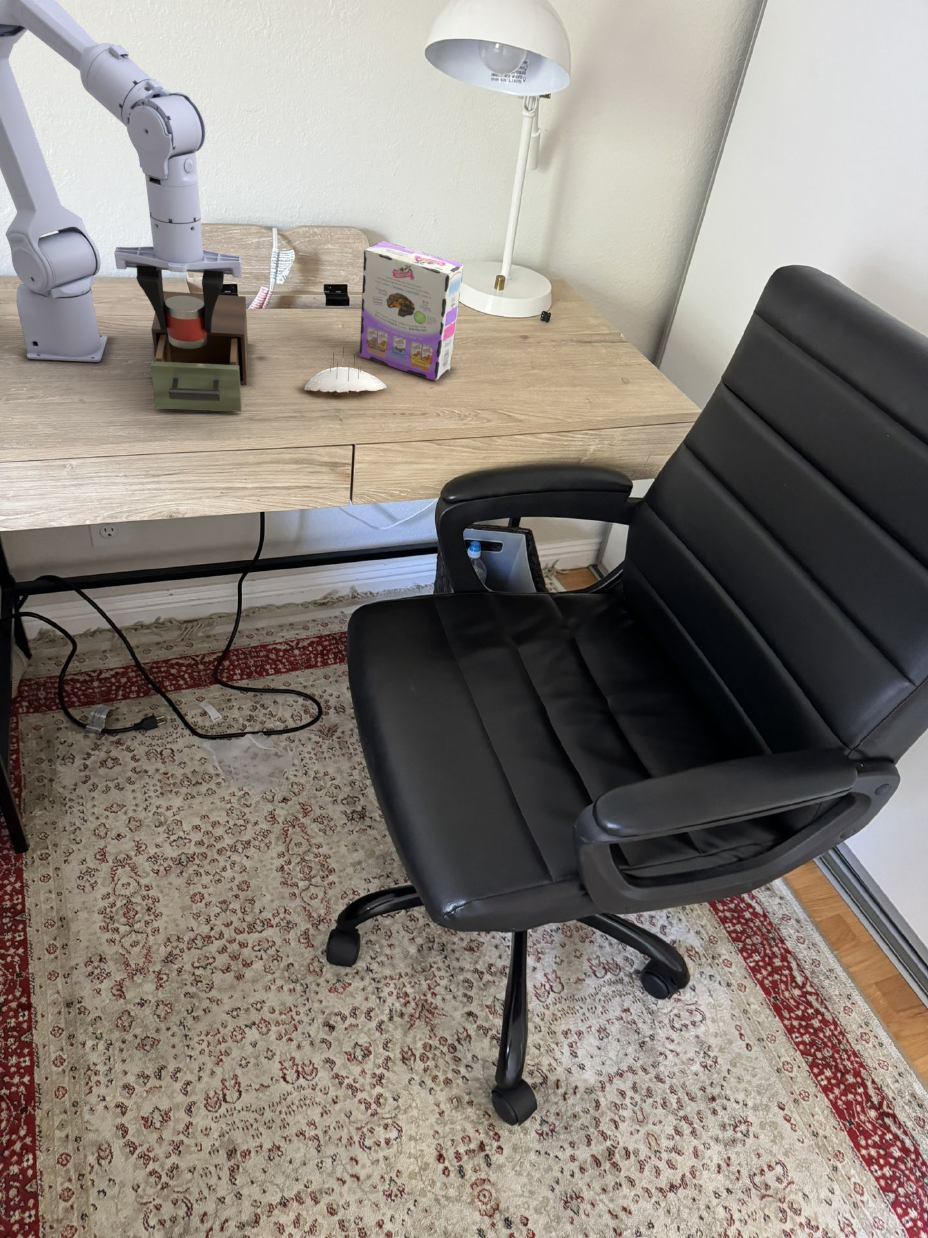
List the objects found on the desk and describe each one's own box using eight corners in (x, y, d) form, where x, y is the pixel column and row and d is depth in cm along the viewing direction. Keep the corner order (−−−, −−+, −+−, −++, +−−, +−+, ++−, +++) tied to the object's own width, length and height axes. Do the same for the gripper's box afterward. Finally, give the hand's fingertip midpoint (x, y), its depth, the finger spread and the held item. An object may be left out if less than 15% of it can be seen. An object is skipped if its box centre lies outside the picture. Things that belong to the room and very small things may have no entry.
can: (166, 347, 103) (162, 309, 100) (170, 331, 107) (166, 293, 103) (206, 350, 104) (203, 312, 101) (208, 333, 108) (205, 296, 104)
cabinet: (246, 384, 115) (244, 333, 110) (157, 381, 112) (151, 328, 107) (247, 344, 124) (245, 296, 119) (165, 340, 121) (159, 290, 116)
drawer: (240, 427, 104) (238, 385, 100) (152, 425, 102) (146, 381, 98) (242, 369, 116) (240, 329, 112) (163, 365, 114) (158, 324, 110)
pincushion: (381, 380, 121) (384, 344, 117) (390, 400, 117) (393, 363, 113) (301, 381, 118) (301, 344, 114) (307, 401, 113) (308, 363, 110)
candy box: (451, 369, 127) (466, 263, 116) (435, 383, 123) (449, 273, 112) (375, 343, 130) (382, 237, 119) (357, 356, 126) (362, 247, 115)
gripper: (104, 221, 90) (122, 338, 99) (238, 232, 93) (243, 344, 102) (112, 201, 95) (129, 314, 104) (239, 212, 98) (244, 321, 107)
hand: (186, 327), depth 104 cm, fingers closed on can, 5 cm apart
